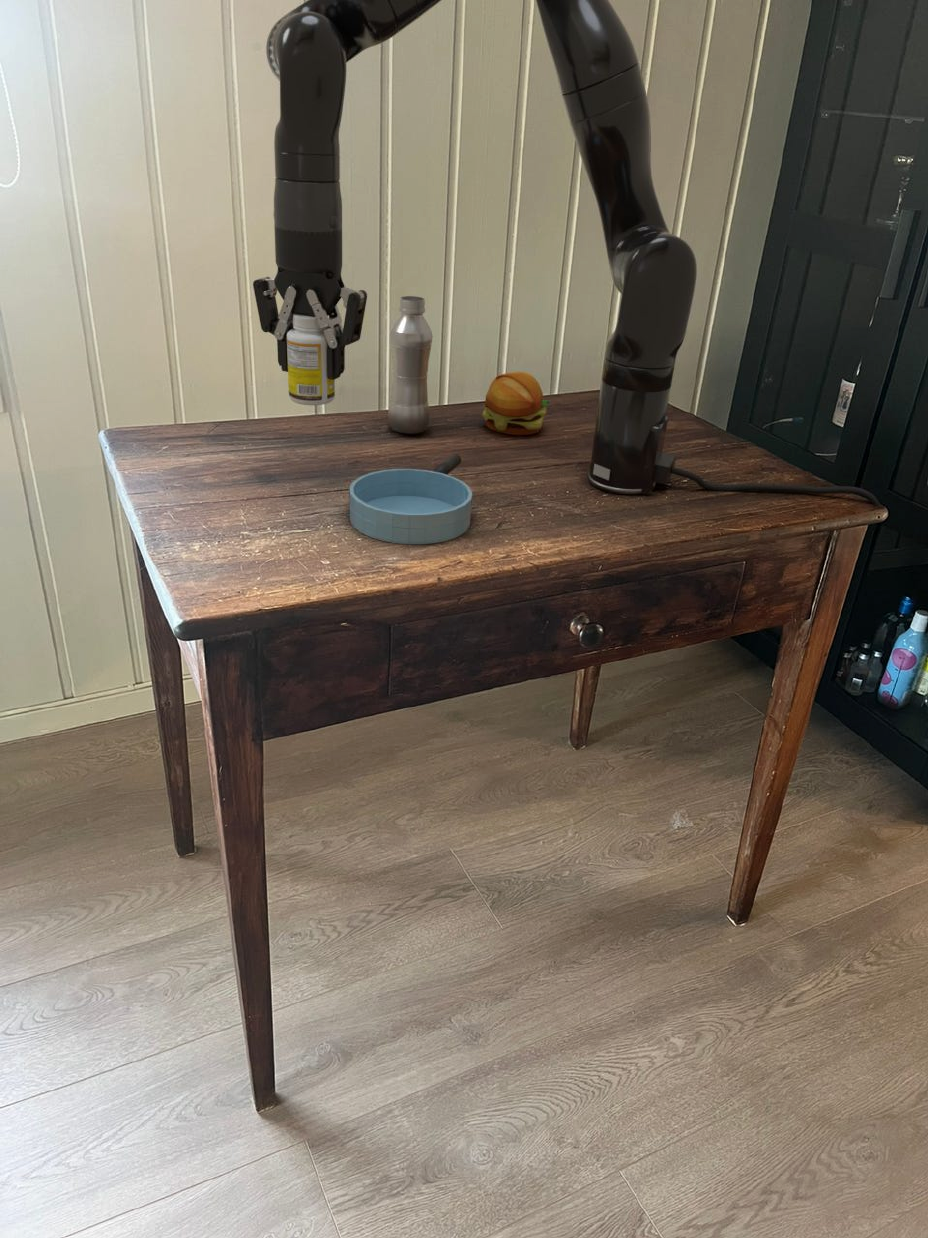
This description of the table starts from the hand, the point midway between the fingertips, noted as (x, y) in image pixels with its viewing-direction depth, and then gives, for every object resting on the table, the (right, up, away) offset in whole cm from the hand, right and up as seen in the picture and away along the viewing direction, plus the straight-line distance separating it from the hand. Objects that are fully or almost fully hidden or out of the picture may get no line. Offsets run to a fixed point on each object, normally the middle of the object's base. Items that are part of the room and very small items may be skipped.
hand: (311, 373), depth 114 cm
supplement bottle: (0, -3, +2) cm, 3 cm away
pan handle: (+16, -10, +12) cm, 23 cm away
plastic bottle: (+10, -1, +34) cm, 35 cm away
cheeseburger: (+26, +1, +38) cm, 46 cm away
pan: (+12, -17, +4) cm, 21 cm away
